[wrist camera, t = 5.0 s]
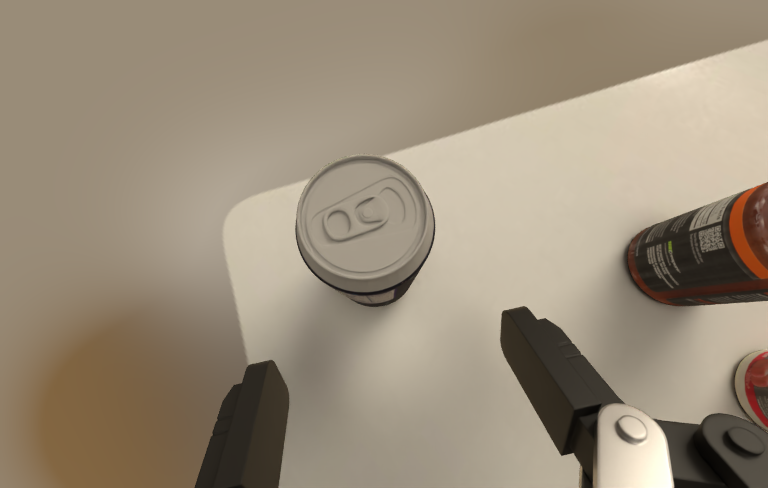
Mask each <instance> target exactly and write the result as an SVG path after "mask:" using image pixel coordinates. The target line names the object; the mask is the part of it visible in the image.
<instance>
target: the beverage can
mask: <svg viewBox="0 0 768 488" xmlns="http://www.w3.org/2000/svg"><path fill="white" fill-rule="evenodd" d="M434 236H435V218H434V213H433V209H432V206H431V203H430V201H429V199H428V197H427V195H426V193H425V192H424V190H423V188H422V187H421V185H420V183H419V182H418V181H417V179H416V178H415V177H414V176H413V175H412V174H411V173H410V171H408V170H407V169H406V168H405V167H403V166H402V165H400V164H399V163H397V162H395V161H393V160H391V159H388V158H385V157H382V156H377V155H369V154H359V155H351V156H346V157H343V158H340V159H338V160H335V161H333V162H331V163H329V164H328V165H326V166H325V167H323V168H322V169H321V170H319V171H318V172H317V173H316V174H315V175H314V176H313V177H312V178H311V180H310V181H309V182H308V184H307V185H306V187H305V189H304V191H303V192H302V194H301V197H300V200H299V203H298V209H297V218H296V240H297V245H298V248H299V251H300V254H301V256H302V258H303V260H304V262H305V263H306V265H307V266H308V268H309V269H310V270H311V272H312V273H313V274H314V275H315V276H316V277H318V278H319V279H320V280H321V281H322V282H324V283H325V284H327V285H329V286H330V287H332V288H333V289H335V290H337V291H338V292H340V293H342V294H343V295H345V296H346V297H348V298H350V299H351V300H353V301H355V302H356V303H359V304H361V305H365V306H370V307H379V306H385V305H388V304H390V303H393V302H395V301H396V300H398V299H399V298H400V297H402V296H403V295H404V294H405V292H406V291H407V290H408V288H409V287H410V285H411V284H412V282H413V280H414V279H415V277H416V275H417V274H418V272H419V271H420V269H421V267H422V266H423V264H424V262H425V261H426V259H427V257H428V255H429V253H430V251H431V248H432V245H433V241H434Z"/></svg>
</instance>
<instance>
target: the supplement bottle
mask: <svg viewBox="0 0 768 488" xmlns="http://www.w3.org/2000/svg"><path fill="white" fill-rule="evenodd" d="M628 265H629V269H630V272H631V275H632V277H633V279H634V280H635V282H636V283H637V284H638V286H639V287H640V288H641V289H642V290H643V291H644V292H645V293H647V294H648V295H649V296H651V297H652V298H654V299H656V300H658V301H660V302H662V303H665V304H669V305H675V306H697V305H714V304H728V303H742V302H756V301H768V182H767V183H764V184H762V185H759V186H757V187H754V188H751V189H748V190H745V191H743V192H740V193H738V194H735V195H732V196H730V197H727V198H724V199H722V200H719V201H716V202H714V203H711V204H709V205H706V206H703V207H701V208H698V209H696V210H693V211H690V212H688V213H685V214H682V215H680V216H677V217H674V218H672V219H669V220H666V221H664V222H661V223H658V224H655V225H653V226H651V227H649V228H646V229H645V230H643V231H641V232H640V233H639V234H637V235H636V237H635V238H634V239H633V240H632V242H631V244H630V246H629V250H628Z"/></svg>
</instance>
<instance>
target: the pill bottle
mask: <svg viewBox="0 0 768 488" xmlns="http://www.w3.org/2000/svg"><path fill="white" fill-rule="evenodd" d="M735 389H736V393H737V396H738V400H739V402H740V404H741V406H742V407H743V409H744V410H745V411H746V413H747V414H748V415H749V416H750V417H751V418H752V420H753V421H754V422H755V423H757V424H758V425H759V426H760V427H762V428H763V429H765V430H767V431H768V350H760V351H756V352H753V353H751V354H750V355H748V356H746V357H745V358H744V359H743V361H742V362H741V363H740V364H739V367H738V369H737V372H736V376H735Z"/></svg>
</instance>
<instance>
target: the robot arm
mask: <svg viewBox="0 0 768 488" xmlns="http://www.w3.org/2000/svg"><path fill="white" fill-rule="evenodd" d="M500 342H501V348H502V351H503V354H504V356H505V358H506V360H507V362H508V363H509V365H510V367H511V369H512V370H513V372H514V374H515V376H516V377H517V379H518V381H519V383H520V384H521V386H522V388H523V390H524V391H525V393H526V395H527V397H528V398H529V400H530V402H531V404H532V405H533V407H534V409H535V411H536V412H537V414H538V416H539V418H540V419H541V421H542V423H543V425H544V426H545V428H546V430H547V432H548V433H549V435H550V437H551V439H552V440H553V442H554V444H555V446H556V447H557V449H558V451H559V453H560V454H561V456H563V455H567V454H571V453H574V454H575V456H576V458H577V459H578V461H579V463H580V472H579V488H768V433H766V432H765V431H764V430H762V429H761V428H759V427H758V426H756V425H754V424H752V423H750V422H748V421H746V420H744V419H742V418H739V417H736V416H733V415H728V414H720V413H718V414H711V415H709V416H707V417H705V419H704V420H703V421H702V423H701V424H700V425H698V424H689V423H679V422H670V421H662V420H657V419H653V418H651V417H650V416H648V415H647V414H646V413H644V412H642V411H641V410H639V409H637V408H635V407H632V406H629V405H626V404H625V403H624V402H623V401H622V400H621V399H620V398H619V397H618V396H617V395H616V394H615V393H614V391H613V390H612V389H611V388H610V387H609V385H608V384H607V383H606V382H605V381H604V380H603V378H602V377H601V376H600V375H599V374H598V372H597V371H596V370H595V369H594V368H593V366H592V365H591V364H590V363H589V362H588V360H587V359H586V358H585V357H584V356H583V355H581V353H580V351H579V350H578V349H577V347H576V346H575V345H574V344H572V342H571V340H570V339H569V338H568V337H567V335H566V334H565V333H564V332H563V331H562V329H561V328H559V327H558V326H556V325H555V324H553V323H552V322H550V321H549V320H547V319H546V318H544V319H539V320H537V319H536V318H535V316H534V315H533V314H532V313H531V311H530V310H529V309H528V308H527V307H525V306H523V307H519V308H514V309H509V310H505V311H503V312H502V320H501V337H500ZM288 410H289V392H288V388H287V385H286V384H285V382H284V380H283V378H282V376H281V374H280V372H279V370H278V368H277V366H276V364H275V362H274V361H273V360H269V361H264V362H260V363H255V364H250V365H249V366H248V367H247V369H246V371H245V375H244V378H243V382H242V383H241V384H237V385H234V386H233V387H232V389H231V390H230V392H229V393H228V395H227V396H226V398H225V399H224V400H223V402H222V405H221V408H220V411H219V414H218V417H217V419H218V421H217V422H216V424H215V427H214V430H213V436H212V437H211V439H210V442H209V445H208V448H207V451H206V454H205V457H204V460H203V463H202V466H201V469H200V472H199V476H198V479H197V482H196V485H195V488H278V486H279V479H280V471H281V464H282V456H283V448H284V441H285V433H286V425H287V418H288Z"/></svg>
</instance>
